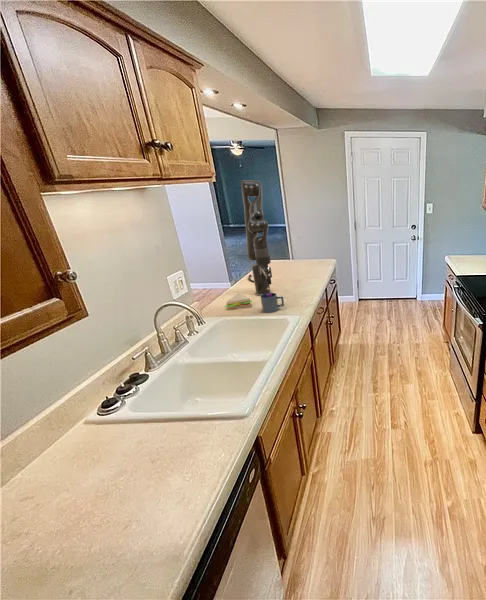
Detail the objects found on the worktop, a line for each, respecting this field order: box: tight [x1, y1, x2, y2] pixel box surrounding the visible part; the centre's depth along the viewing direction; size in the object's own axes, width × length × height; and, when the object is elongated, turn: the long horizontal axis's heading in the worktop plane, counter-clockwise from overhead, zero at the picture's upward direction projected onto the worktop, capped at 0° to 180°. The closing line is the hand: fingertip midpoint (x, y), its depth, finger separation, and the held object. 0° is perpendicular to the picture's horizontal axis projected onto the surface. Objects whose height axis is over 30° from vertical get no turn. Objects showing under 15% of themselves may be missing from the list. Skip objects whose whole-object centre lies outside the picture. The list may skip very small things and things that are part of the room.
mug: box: [259, 292, 285, 314], centre depth 198 cm, size 13×9×10 cm
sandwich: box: [224, 291, 253, 310], centre depth 208 cm, size 15×20×5 cm
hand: (266, 282), depth 193 cm, fingers open, 8 cm apart
